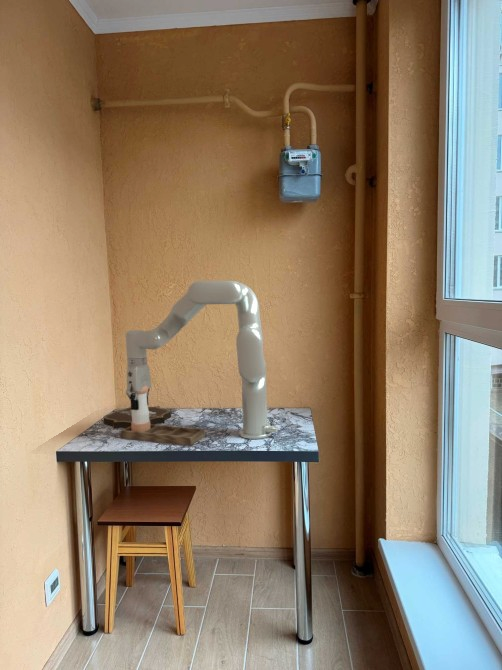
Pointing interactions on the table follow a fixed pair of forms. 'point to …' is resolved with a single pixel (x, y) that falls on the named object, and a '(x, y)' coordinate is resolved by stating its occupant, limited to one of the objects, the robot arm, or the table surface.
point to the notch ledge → (165, 434)
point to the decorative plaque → (125, 417)
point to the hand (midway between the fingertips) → (139, 407)
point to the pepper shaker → (141, 413)
